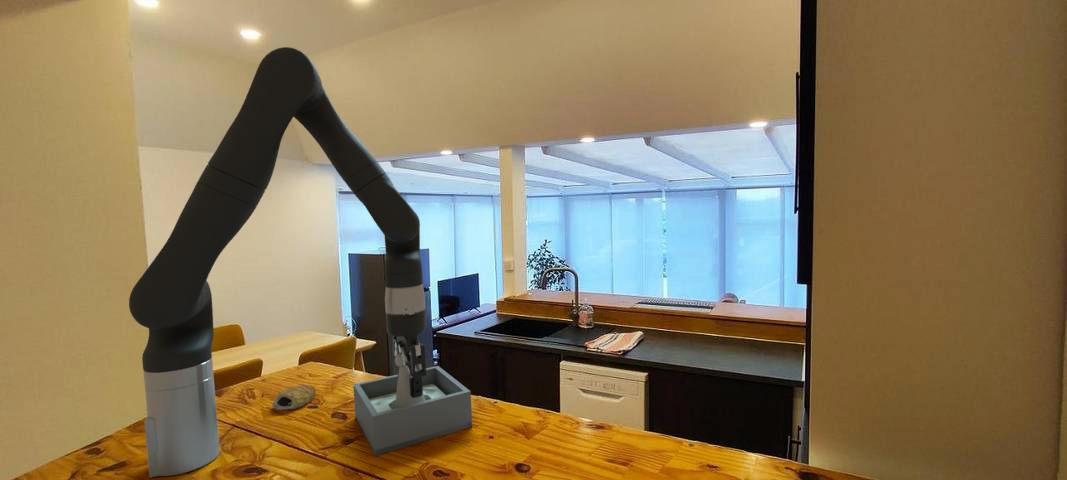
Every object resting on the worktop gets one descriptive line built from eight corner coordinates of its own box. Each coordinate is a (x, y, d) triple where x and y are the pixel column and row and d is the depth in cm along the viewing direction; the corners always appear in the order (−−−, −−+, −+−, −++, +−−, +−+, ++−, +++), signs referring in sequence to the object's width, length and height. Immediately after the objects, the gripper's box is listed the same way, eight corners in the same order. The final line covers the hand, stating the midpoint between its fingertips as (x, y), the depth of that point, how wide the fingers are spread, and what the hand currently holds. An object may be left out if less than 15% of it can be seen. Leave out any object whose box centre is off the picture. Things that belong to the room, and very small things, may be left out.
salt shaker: (430, 410, 92) (425, 347, 92) (419, 423, 86) (414, 356, 86) (403, 411, 93) (398, 348, 92) (390, 423, 87) (385, 357, 87)
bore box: (375, 456, 77) (372, 416, 77) (355, 417, 93) (353, 384, 92) (472, 426, 87) (470, 391, 86) (439, 396, 102) (438, 365, 102)
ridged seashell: (298, 393, 107) (297, 377, 107) (324, 394, 106) (323, 378, 106) (269, 411, 98) (268, 393, 98) (298, 412, 97) (297, 394, 97)
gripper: (377, 305, 92) (381, 382, 93) (395, 317, 80) (400, 406, 81) (413, 300, 96) (417, 374, 97) (436, 311, 84) (440, 396, 85)
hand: (410, 389), depth 89 cm, fingers open, 8 cm apart
